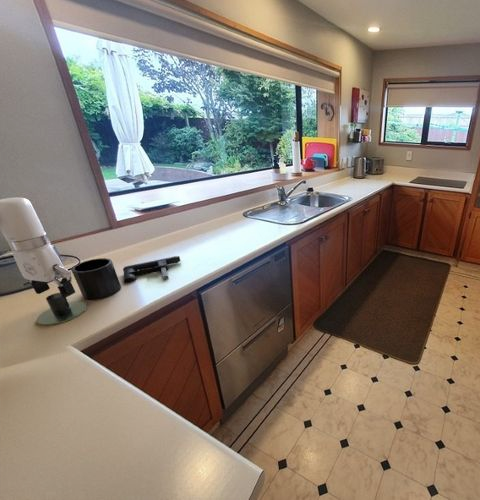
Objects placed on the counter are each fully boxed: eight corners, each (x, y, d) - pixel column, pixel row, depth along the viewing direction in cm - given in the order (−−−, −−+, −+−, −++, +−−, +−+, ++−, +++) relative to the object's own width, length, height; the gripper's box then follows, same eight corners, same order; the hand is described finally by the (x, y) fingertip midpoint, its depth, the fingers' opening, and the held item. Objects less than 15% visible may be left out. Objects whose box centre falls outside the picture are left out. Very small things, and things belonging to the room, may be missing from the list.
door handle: (184, 269, 113) (178, 253, 124) (122, 284, 102) (122, 264, 113) (185, 276, 114) (180, 259, 125) (124, 291, 103) (124, 271, 115)
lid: (31, 331, 82) (19, 311, 79) (46, 310, 91) (36, 291, 88) (82, 320, 87) (74, 301, 84) (92, 301, 96) (84, 283, 93)
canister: (80, 304, 94) (66, 275, 89) (88, 289, 102) (76, 261, 97) (118, 297, 99) (107, 268, 94) (123, 283, 107) (114, 256, 102)
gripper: (-12, 245, 77) (19, 296, 84) (38, 250, 74) (66, 303, 81) (21, 235, 83) (47, 283, 91) (69, 239, 81) (92, 289, 88)
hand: (56, 293), depth 86 cm, fingers open, 9 cm apart
